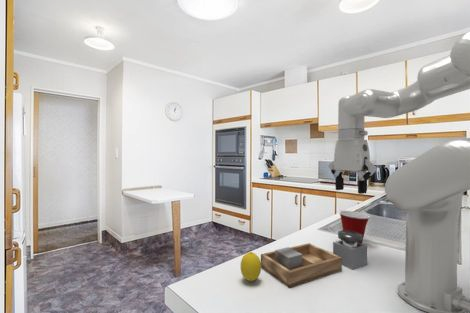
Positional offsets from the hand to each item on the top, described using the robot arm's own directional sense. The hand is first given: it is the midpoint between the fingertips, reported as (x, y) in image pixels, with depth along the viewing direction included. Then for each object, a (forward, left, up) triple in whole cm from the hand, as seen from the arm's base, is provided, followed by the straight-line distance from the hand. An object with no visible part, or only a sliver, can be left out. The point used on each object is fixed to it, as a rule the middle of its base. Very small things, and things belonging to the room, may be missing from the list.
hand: (350, 191), depth 77 cm
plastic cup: (+10, -16, -23) cm, 30 cm away
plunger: (0, 0, -22) cm, 22 cm away
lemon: (+5, +34, -23) cm, 41 cm away
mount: (0, 0, -23) cm, 23 cm away
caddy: (+4, +17, -23) cm, 29 cm away
